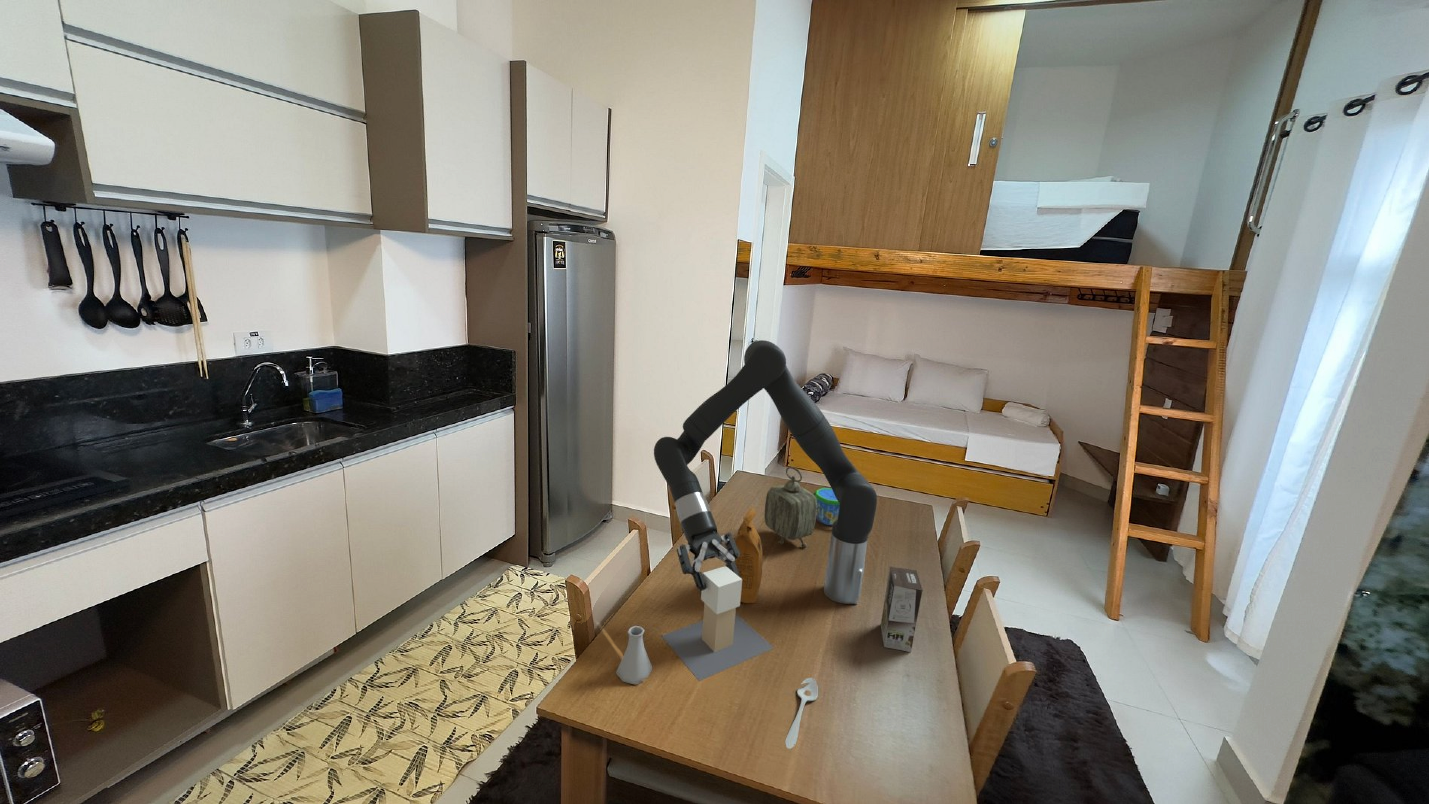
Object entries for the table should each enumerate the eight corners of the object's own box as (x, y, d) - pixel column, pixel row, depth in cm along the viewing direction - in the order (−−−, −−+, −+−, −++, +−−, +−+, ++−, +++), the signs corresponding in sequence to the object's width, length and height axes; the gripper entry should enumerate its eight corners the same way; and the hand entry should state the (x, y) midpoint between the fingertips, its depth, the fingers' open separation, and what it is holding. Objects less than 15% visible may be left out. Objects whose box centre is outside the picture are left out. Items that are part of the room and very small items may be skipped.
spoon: (821, 687, 115) (822, 680, 115) (795, 765, 97) (796, 758, 96) (801, 680, 117) (802, 673, 116) (773, 756, 98) (773, 748, 98)
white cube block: (723, 591, 127) (725, 565, 125) (739, 606, 122) (742, 579, 120) (701, 599, 123) (702, 572, 122) (716, 614, 119) (718, 587, 117)
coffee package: (764, 583, 151) (771, 508, 145) (756, 609, 139) (764, 529, 134) (728, 576, 153) (734, 502, 147) (718, 601, 141) (724, 522, 136)
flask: (636, 690, 110) (638, 647, 108) (609, 674, 114) (610, 632, 112) (659, 669, 116) (661, 628, 114) (632, 655, 120) (633, 615, 118)
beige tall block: (719, 632, 129) (724, 570, 125) (732, 644, 125) (738, 581, 121) (701, 639, 126) (706, 576, 122) (714, 652, 122) (719, 587, 118)
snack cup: (855, 528, 186) (859, 501, 184) (830, 534, 181) (834, 505, 179) (825, 509, 199) (829, 483, 197) (802, 514, 194) (805, 487, 192)
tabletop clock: (812, 549, 170) (821, 473, 164) (790, 556, 165) (798, 478, 159) (781, 529, 182) (789, 457, 176) (759, 535, 177) (766, 462, 171)
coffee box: (912, 653, 127) (923, 590, 123) (883, 647, 128) (893, 585, 124) (907, 628, 136) (917, 569, 132) (880, 623, 137) (889, 565, 133)
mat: (731, 611, 137) (732, 609, 137) (773, 650, 125) (773, 648, 124) (661, 638, 126) (661, 635, 126) (699, 683, 113) (699, 680, 113)
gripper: (675, 516, 122) (700, 589, 116) (727, 504, 130) (753, 571, 123) (662, 528, 127) (685, 598, 121) (713, 515, 135) (737, 580, 129)
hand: (719, 584), depth 122 cm, fingers open, 8 cm apart
